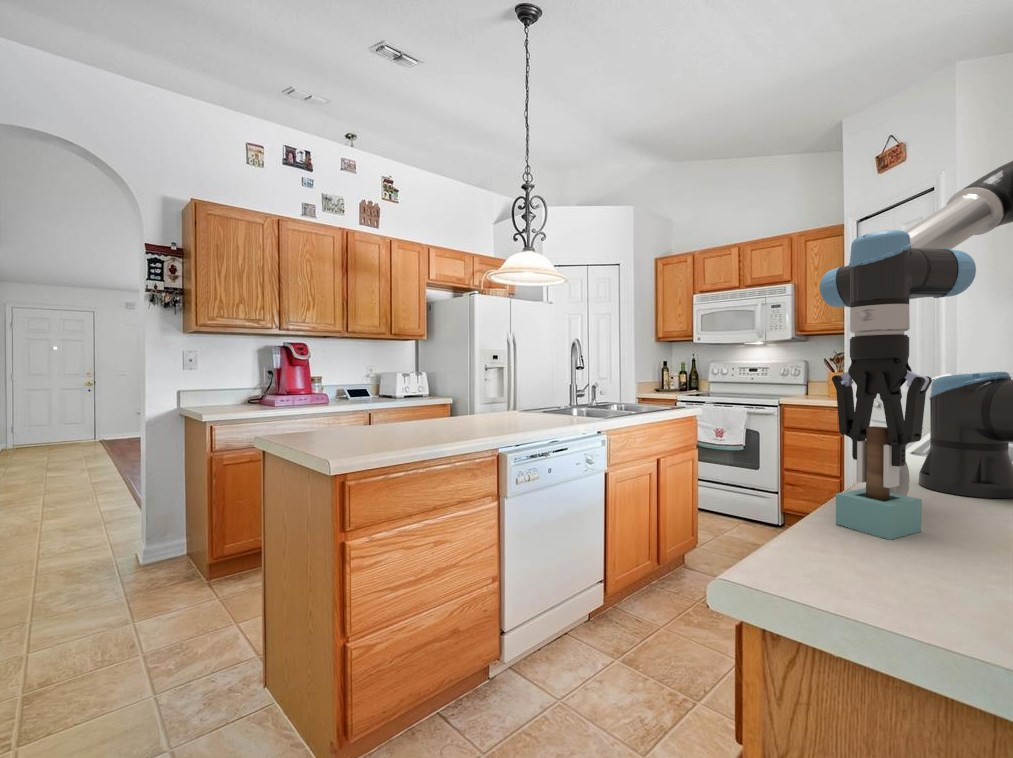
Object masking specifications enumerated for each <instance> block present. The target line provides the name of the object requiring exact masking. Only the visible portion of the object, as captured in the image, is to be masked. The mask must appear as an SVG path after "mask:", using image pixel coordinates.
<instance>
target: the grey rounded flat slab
mask: <svg viewBox="0 0 1013 758" xmlns="http://www.w3.org/2000/svg"><path fill="white" fill-rule="evenodd" d="M909 487H910V469H909V465H908V463H907V462H906V463H905V465H904V466H899V486H896V487H891V488H890V493H894V494H898V495H903V496H908V494H909V493H908V492H909V489H910V488H909Z"/></svg>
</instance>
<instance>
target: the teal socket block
mask: <svg viewBox="0 0 1013 758" xmlns="http://www.w3.org/2000/svg"><path fill="white" fill-rule="evenodd" d="M922 506H923V505H922V499H921V498H917V497H914V496H913V497H912V496H908V495H907V496H903V495H898V494H894V493H890V498H889V501H885V502H883V501H879V500H874V499H870V498H866V487H865V488H859V489H855V490H854V489H853V490H848V491H844V492H839V493H835V525H836V524H838V525H837V526H839V525H842V526H841V527H843V526H845V527H844V528H846V527H848V528H847V529H850V528H852V529H851V530H853V529H855V530H854V531H857V530H858V532H860V531H862V532H861V533H864V532H865V533H864V534H867V533H869V534H868V535H871V534H872V535H871V536H874V537H879V538H882V537H883V538H882V539H885V538H886V540H889V541H891V540H894V539H899V538H902V536H903V537H906V536H909V534H910V535H914V534H917V533H921V532H922ZM913 533H914V534H913ZM898 537H899V538H898Z"/></svg>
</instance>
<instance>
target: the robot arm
mask: <svg viewBox="0 0 1013 758" xmlns="http://www.w3.org/2000/svg"><path fill="white" fill-rule="evenodd" d="M1011 223H1013V160H1011V161H1009V162H1006V163H1004V164H1003V165H1001V166H998V167H997V168H995V169H994V170H992V171H990V172H987V173H986V174H985V175H983V176H981V177H980V178H978V179H976V180H975V181H973V182H972V183H970V184H968V185H967V186H964V188H962V189H960V190H959V191H957V192H956V193H954V194H953V195H952V196H951V197H950V198H949V199H948V201H947V203H946V205H945V206H943V207H942V208H939V210H937V211H935V212H933V213H932V214H930V215H928V216H927V217H926V218H924V219H922V220H921V221H919V222H917V223H915V224H914V225H913V226H911V227H910V228H908V229H907V230H899V229H898V230H893V229H892V230H883V231H882V230H881V231H875V232H871V233H866V234H862V235H860V236H858V237H856V238H855V239H854V240H853V241H852V242H851V246H850V256H849V263H848V265H846V266H843V265H841V266H838V267H837V268H833V269H830V270H828V271H826V273H824V274H823V276H822V278H821V279H820V281H819V293H820V296H821V298H822V300H823V301H824V303H825V304H827V306H830V307H833V308H843V307H844V308H849V332H850V333H852V334H853V335H854V336H851V337H850V338H849V359H850V361H851V362H850V365H849V367H848V371H846V372H844V373H842V374H838V375H837V374H835V375H833V376H832V377H831V381H832V383H833V386H834V388H835V392H836V403H837V404H836V405H837V418H838V429H839V430H838V431H839V433H840V435H842V436H846V437H849V438H850V440H851V442H852V445H851V446H852V448H851V452H852V454H851V455H852V459H853V460H854V461H855V460H856V461H857V462H856V464H857V465H856V473H857V474H856V481H857V482H856V483H862V484H863V483H866V427H870V425H871V424H870V423H871V419H872V414H873V407H874V403H875V399H876V398H877V396H878V395H879V399H880V401H882V405H883V411H884V417H885V424H886V427H887V430H888V436H889V442H887V444H886V445H884V471H883V487H886V488H891V487H896V486H899V466H904V465H905V463H907V461H906V455H907V454H906V450H907V449H906V448H907V445H908V444H911V443H916V442H920V441H921V440H922V436H923V435H922V433H923V425H924V415H925V407H926V406H925V404H926V394H927V391H928V389H929V387H930V385H931V387H930V388H931V390H930V396H929V402H930V405H929V406H930V414H929V415H930V417H929V419H930V428H929V430H930V432H929V433H930V434H929V436H930V441H929V443H930V444H929V447H930V448H929V449H928V452H927V454H926V457H925V458H924V459H925V460H924V462H923V464H922V465H921V469H920V471H919V472H918V473H919V474H918V484H919V485H920V486H921V487H924V488H926V489H929V490H933V491H938V492H941V493H946V494H952V495H959V496H966V497H973V498H986V499H987V498H988V499H1010V498H1013V462H1012V459H1011V457H1010V454H1009V453H1010V452H1009V444H1010V443H1013V379H1012V376H1010V373H1009V372H1007V371H990V372H977V373H974V372H973V373H963V374H952V375H944V376H939V377H937V378H935V379H934V380H933V379H932V377H930V376H928V375H927V376H923V375H920V374H918V373H916V372H913V371H912V367H911V366H910V365H909V358H910V336H908V334H905V332H908V331H909V330H910V328H911V327H910V325H911V324H910V323H911V322H910V300H913V299H922V298H934V299H939V298H946V297H947V298H948V297H955V296H957V295H960V294H962V293H964V292H965V291H966V290H968V288H969V287H971V285H972V284H973V282H974V280H975V278H976V275H977V273H976V272H977V267H976V262H975V260H974V258H973V257H972V256H971V255H969V254H968V253H967V252H965V251H962V250H955V249H954V248H956V247H957V246H959V245H960V244H962V243H963V242H965V241H967V240H969V238H971V237H973V236H980V235H984V234H987V233H989V232H990V231H993V230H994V229H996V228H997V227H1000V226H1003V225H1007V224H1011ZM905 382H907V383H906V386H907V387H908V389H907V392H906V401H905V410H904V411H905V412H903V407H902V398H903V396H902V389H901V388H902V386H903V385H904V384H905ZM854 383H855V385H856V386H857V387H856V390H855V391H856V393H855V398H856V403H855V401H854V399H855V398H854V389H853V384H854Z"/></svg>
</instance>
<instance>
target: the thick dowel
mask: <svg viewBox="0 0 1013 758" xmlns="http://www.w3.org/2000/svg"><path fill="white" fill-rule="evenodd" d="M887 442H889V436H888V430H887V426H873V425H872V426H870V425H869V427H866V482H865V488H866V498H870V499H874V500H879V501H883V502H885V501H889V498H890V488H886V487H883V471H884V445H886V444H887Z"/></svg>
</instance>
